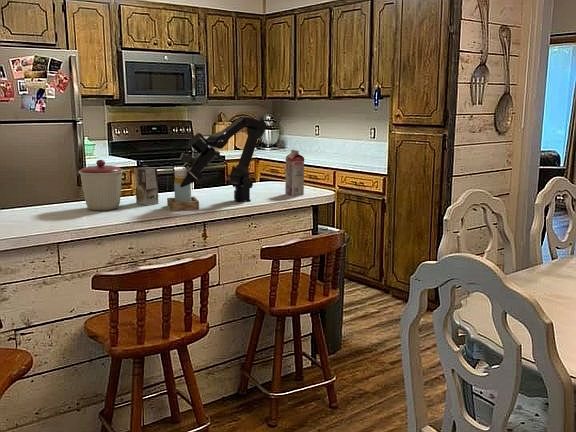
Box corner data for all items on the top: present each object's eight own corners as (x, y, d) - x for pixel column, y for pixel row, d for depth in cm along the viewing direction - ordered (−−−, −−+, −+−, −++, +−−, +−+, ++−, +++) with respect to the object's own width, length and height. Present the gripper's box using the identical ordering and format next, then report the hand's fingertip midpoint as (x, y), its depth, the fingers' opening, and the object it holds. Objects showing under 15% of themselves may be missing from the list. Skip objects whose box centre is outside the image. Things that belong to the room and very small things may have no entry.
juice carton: (292, 196, 276) (292, 151, 271) (285, 193, 282) (285, 149, 277) (303, 194, 279) (304, 150, 275) (296, 192, 285) (297, 149, 280)
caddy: (194, 204, 253) (194, 196, 252) (199, 209, 242) (198, 201, 241) (167, 205, 249) (167, 197, 248) (170, 210, 238) (170, 202, 237)
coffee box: (159, 203, 253) (157, 168, 250) (146, 205, 249) (145, 169, 245) (147, 201, 259) (146, 166, 256) (135, 202, 255) (133, 167, 251)
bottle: (187, 206, 242) (186, 171, 238) (172, 205, 243) (170, 170, 239) (193, 202, 248) (192, 168, 245) (178, 201, 250) (177, 168, 246)
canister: (94, 214, 229) (91, 163, 225) (73, 208, 241) (69, 159, 237) (133, 208, 242) (131, 159, 238) (111, 203, 254) (108, 156, 250)
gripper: (187, 144, 250) (162, 170, 249) (194, 148, 233) (168, 176, 231) (205, 161, 254) (181, 186, 253) (213, 166, 237) (188, 193, 236)
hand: (179, 185), depth 243 cm, fingers closed on bottle, 7 cm apart
